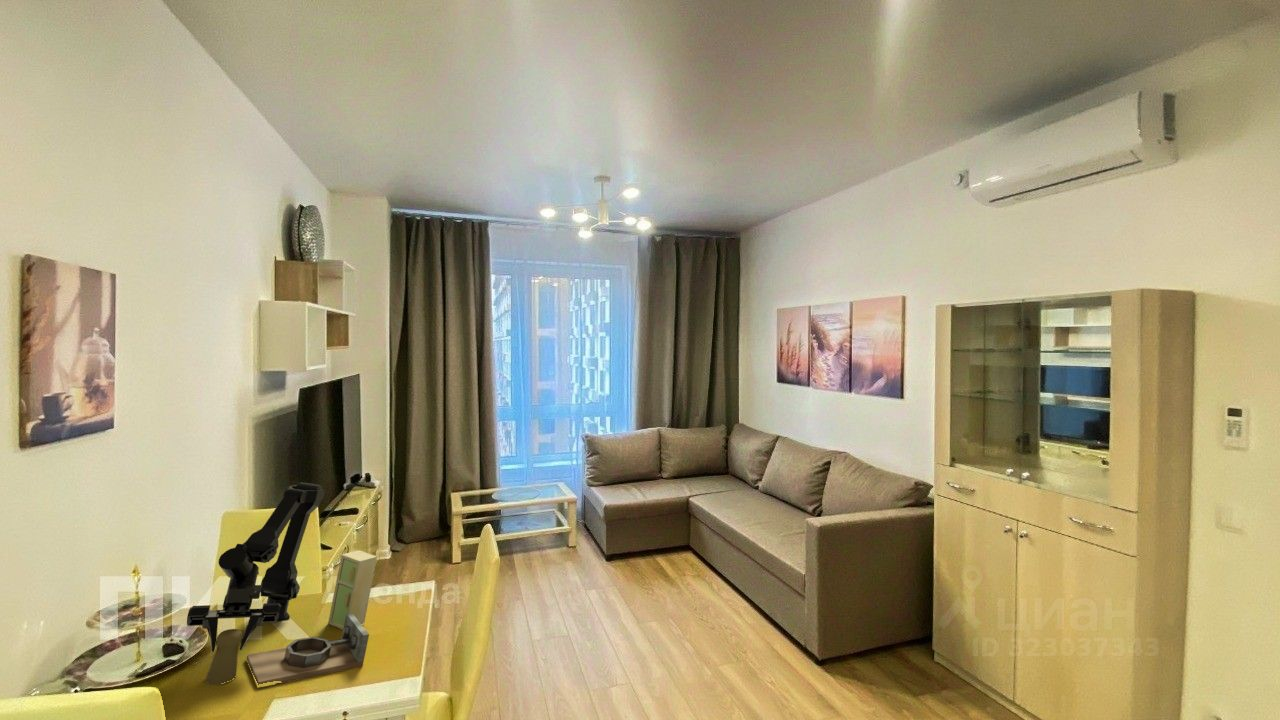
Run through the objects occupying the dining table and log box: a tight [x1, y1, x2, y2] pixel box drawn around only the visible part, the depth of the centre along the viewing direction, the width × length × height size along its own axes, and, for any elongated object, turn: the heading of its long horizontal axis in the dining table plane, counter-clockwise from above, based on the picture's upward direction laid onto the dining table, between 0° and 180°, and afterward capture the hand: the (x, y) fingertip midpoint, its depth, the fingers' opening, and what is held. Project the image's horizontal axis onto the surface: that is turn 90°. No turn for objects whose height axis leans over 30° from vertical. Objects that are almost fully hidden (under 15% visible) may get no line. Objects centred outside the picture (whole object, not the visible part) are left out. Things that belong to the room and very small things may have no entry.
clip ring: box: [284, 626, 358, 668], centre depth 148 cm, size 10×16×5 cm, turn 134°
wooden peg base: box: [245, 613, 370, 685], centre depth 146 cm, size 14×24×8 cm, turn 134°
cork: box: [205, 628, 244, 686], centre depth 134 cm, size 6×6×11 cm
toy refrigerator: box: [327, 549, 378, 631], centre depth 170 cm, size 8×7×21 cm
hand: (226, 650), depth 133 cm, fingers closed on cork, 5 cm apart
